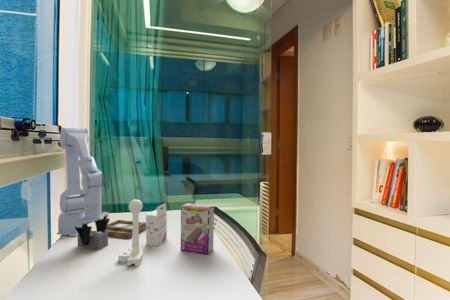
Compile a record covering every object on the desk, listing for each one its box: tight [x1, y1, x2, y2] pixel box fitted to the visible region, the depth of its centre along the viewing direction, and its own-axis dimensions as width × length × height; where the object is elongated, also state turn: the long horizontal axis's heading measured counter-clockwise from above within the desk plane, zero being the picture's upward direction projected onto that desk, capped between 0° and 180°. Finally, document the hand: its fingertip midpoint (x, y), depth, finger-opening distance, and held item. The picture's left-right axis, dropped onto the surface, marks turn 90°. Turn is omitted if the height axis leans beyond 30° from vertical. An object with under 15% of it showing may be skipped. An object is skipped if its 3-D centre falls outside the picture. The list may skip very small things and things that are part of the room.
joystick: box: [117, 198, 144, 267], centre depth 93 cm, size 11×8×20 cm
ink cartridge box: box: [145, 202, 168, 247], centre depth 110 cm, size 9×5×15 cm, turn 168°
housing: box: [77, 230, 109, 251], centre depth 105 cm, size 9×5×6 cm, turn 76°
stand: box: [105, 219, 146, 240], centre depth 122 cm, size 14×14×3 cm
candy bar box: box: [180, 202, 215, 255], centre depth 102 cm, size 11×5×16 cm, turn 71°
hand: (93, 241), depth 105 cm, fingers open, 7 cm apart
